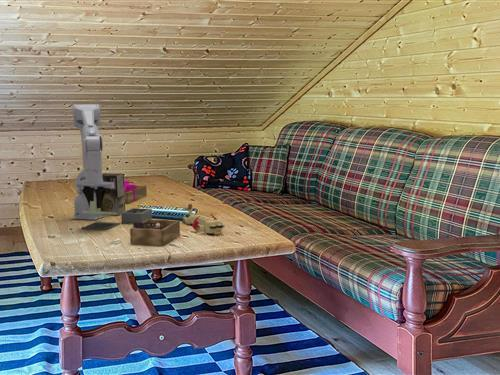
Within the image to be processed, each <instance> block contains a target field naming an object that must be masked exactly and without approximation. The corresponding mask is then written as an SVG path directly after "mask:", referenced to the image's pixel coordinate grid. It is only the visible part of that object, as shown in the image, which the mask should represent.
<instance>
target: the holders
mask: <svg viewBox="0 0 500 375" xmlns="http://www.w3.org/2000/svg"><path fill="white" fill-rule="evenodd" d="M134 185H135V184H134ZM147 191H148V190H147V185H137V184H136V185H135V201H134V198H133V191H129V192H125V205H129V204H131V203H134V202H137V201H139V200H141V199H144V198H145V197H147V196H148V193H147ZM142 223H161V230H160V227H159V230H157V227H156V224H155V227H152V226H150V227H147V224H144V229H136V228H135V227H133V226H132V227H130V228H129V235H130V236H129V237H130V239H129V240H130V242H129V243H130V244H132V245H142V246H158V247H159V246H166V245H168V244H169V243H171V242H172V241H173V240H175V239H176V238H178V237H179V236H180V235H181V228H180V227H181V225H180V224H181V223H180V220H178V219H177V220H175V219H174V220H173V219H157V218H156V219H154V218H152V219H148V220H146V221H144V222H142Z"/></svg>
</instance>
